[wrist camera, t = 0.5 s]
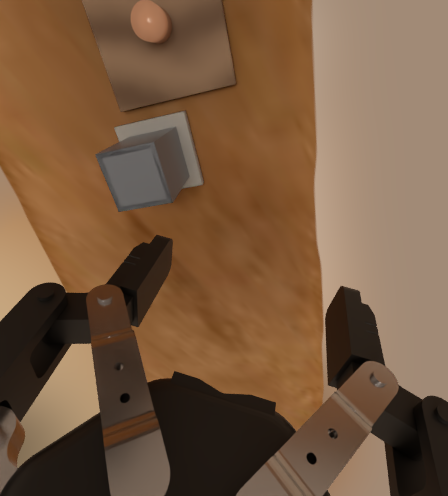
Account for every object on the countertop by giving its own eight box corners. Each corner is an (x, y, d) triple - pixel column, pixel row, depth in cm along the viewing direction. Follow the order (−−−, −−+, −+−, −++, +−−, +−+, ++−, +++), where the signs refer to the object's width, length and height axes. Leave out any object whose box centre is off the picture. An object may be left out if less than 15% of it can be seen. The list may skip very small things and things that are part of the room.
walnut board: (72, -39, 30) (67, -42, 30) (207, -87, 28) (205, -92, 27) (123, 110, 37) (120, 111, 36) (236, 83, 35) (235, 84, 34)
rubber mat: (117, 126, 38) (114, 127, 37) (185, 110, 36) (183, 111, 36) (141, 193, 42) (139, 196, 42) (203, 182, 41) (202, 184, 40)
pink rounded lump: (137, 10, 31) (125, 5, 28) (166, 1, 31) (157, -5, 28) (147, 47, 33) (137, 45, 30) (175, 39, 32) (167, 36, 29)
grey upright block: (128, 137, 38) (95, 154, 30) (175, 126, 37) (153, 141, 29) (145, 184, 41) (118, 211, 33) (189, 176, 40) (172, 202, 32)
